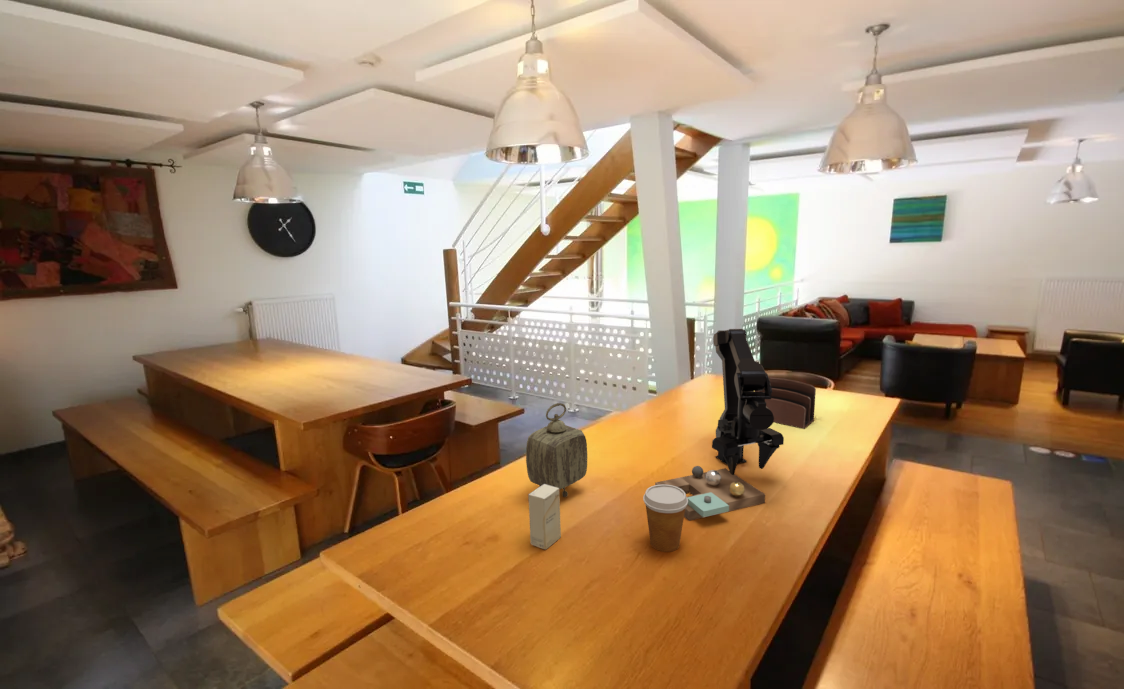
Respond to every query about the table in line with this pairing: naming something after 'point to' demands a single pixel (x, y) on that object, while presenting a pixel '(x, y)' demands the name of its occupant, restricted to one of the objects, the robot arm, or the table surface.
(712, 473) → the steel ball
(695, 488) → the board
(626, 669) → the table surface
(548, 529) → the skincare box
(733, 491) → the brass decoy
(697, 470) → the matte grey ball
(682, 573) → the table surface
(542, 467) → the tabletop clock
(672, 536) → the disposable coffee cup
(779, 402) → the letter holder
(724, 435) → the robot arm
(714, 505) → the cover
